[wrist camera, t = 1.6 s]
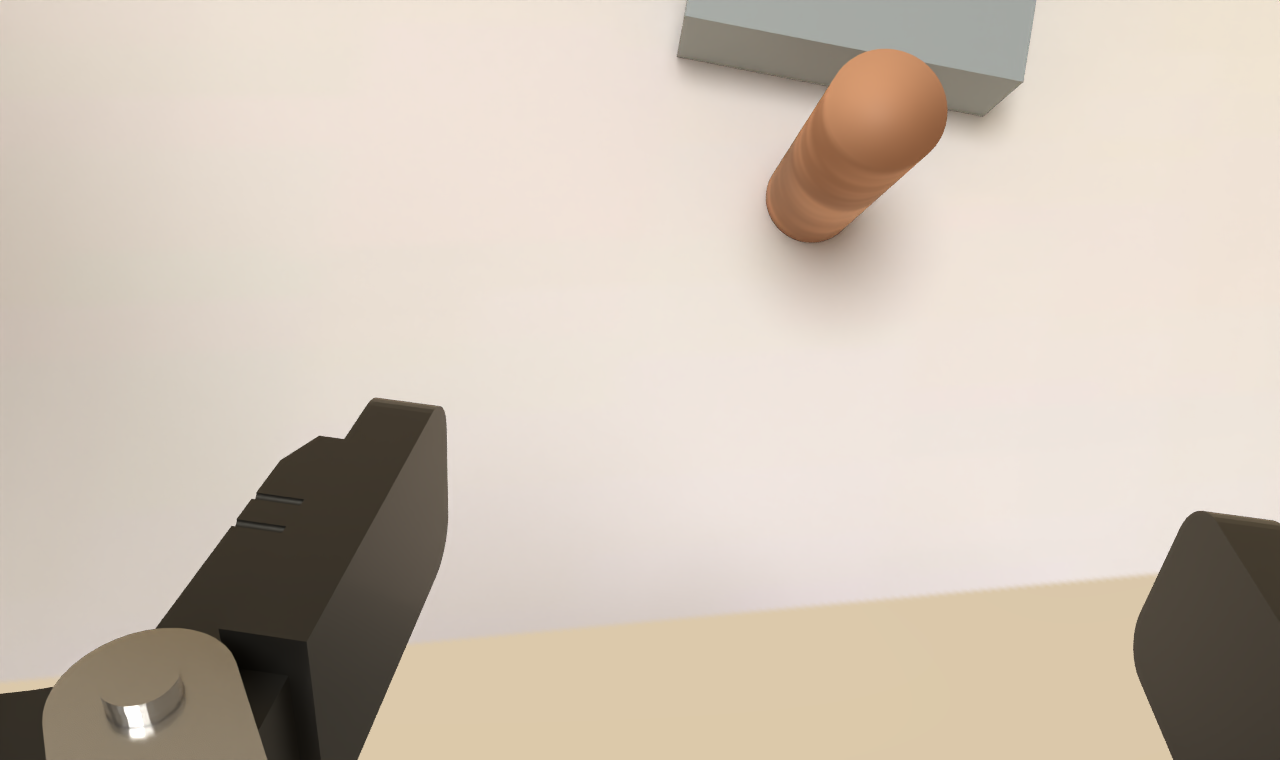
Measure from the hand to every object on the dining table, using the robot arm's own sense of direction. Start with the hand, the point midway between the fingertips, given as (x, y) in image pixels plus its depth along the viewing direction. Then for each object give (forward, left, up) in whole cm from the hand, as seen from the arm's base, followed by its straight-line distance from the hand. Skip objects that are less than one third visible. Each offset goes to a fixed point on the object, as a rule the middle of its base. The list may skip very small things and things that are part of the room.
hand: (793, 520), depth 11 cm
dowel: (-6, +10, -26) cm, 28 cm away
